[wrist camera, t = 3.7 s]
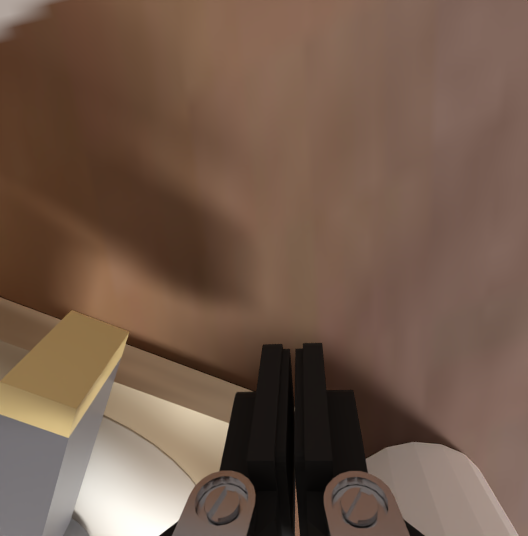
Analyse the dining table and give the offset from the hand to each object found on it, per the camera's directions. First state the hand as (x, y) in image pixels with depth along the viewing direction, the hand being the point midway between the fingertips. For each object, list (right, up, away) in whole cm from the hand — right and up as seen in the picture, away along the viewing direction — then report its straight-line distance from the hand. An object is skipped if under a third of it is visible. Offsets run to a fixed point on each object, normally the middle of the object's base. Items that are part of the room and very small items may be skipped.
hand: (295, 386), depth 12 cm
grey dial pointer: (-9, -5, +4) cm, 11 cm away
